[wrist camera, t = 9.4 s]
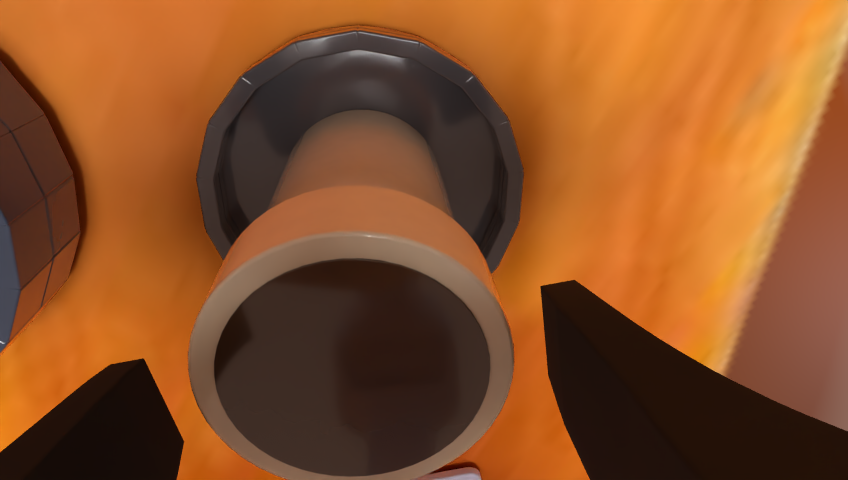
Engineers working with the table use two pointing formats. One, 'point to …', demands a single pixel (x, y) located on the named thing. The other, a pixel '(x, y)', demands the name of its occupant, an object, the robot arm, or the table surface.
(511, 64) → the table surface
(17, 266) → the planter
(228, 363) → the clay pot
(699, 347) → the table surface
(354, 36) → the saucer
